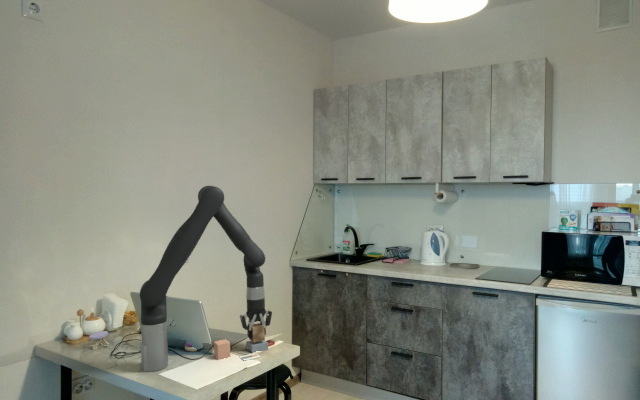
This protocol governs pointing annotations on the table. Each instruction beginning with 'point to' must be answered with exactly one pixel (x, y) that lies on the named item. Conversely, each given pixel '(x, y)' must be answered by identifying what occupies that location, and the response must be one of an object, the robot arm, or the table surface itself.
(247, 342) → the base brick
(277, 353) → the table surface
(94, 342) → the toy table
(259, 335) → the walnut brick
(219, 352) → the terracotta brick
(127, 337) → the table surface
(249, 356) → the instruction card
